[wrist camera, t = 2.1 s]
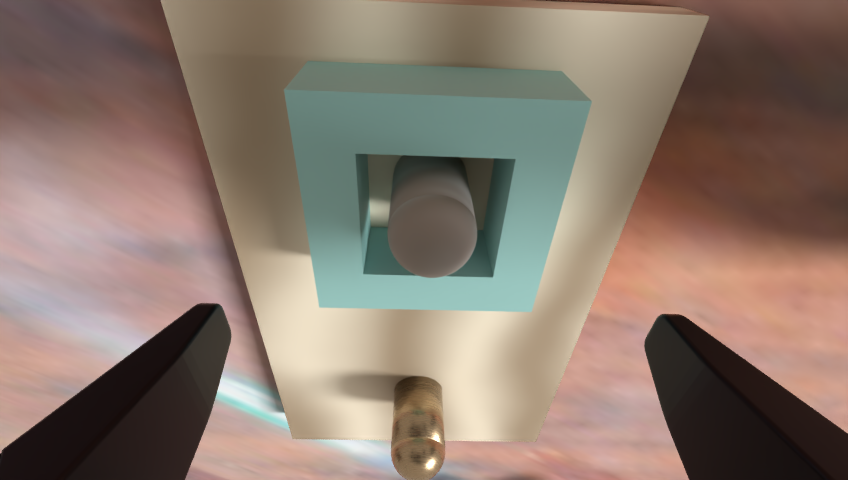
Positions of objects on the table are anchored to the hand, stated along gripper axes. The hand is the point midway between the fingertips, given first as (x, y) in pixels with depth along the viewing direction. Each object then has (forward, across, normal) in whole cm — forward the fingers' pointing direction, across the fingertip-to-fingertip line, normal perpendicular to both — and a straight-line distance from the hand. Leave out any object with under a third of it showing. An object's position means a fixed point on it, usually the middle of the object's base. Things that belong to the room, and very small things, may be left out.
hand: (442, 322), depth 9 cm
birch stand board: (+8, 0, +6) cm, 10 cm away
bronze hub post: (+6, 0, +12) cm, 13 cm away
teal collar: (+6, 0, 0) cm, 6 cm away
